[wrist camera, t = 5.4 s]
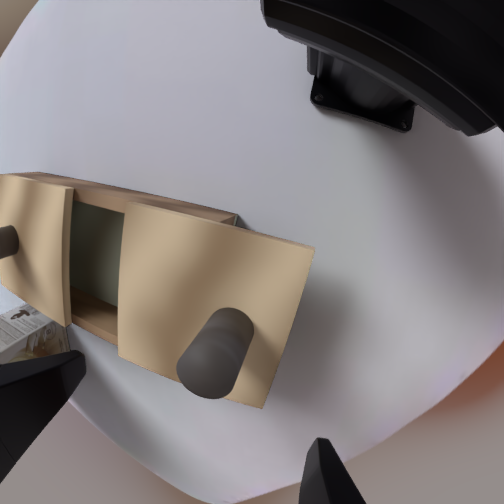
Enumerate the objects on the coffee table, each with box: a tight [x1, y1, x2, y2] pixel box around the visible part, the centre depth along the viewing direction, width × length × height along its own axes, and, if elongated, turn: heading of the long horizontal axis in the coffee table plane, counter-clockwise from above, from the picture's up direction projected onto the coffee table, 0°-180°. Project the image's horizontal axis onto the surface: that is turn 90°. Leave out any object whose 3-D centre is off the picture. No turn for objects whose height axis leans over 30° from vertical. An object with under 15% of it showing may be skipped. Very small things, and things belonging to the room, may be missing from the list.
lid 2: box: [118, 202, 315, 409], centre depth 13 cm, size 10×10×5 cm
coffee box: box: [0, 303, 70, 365], centre depth 17 cm, size 9×6×16 cm
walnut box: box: [10, 172, 238, 346], centre depth 19 cm, size 20×10×4 cm, turn 77°
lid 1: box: [0, 174, 74, 327], centre depth 15 cm, size 10×10×5 cm
